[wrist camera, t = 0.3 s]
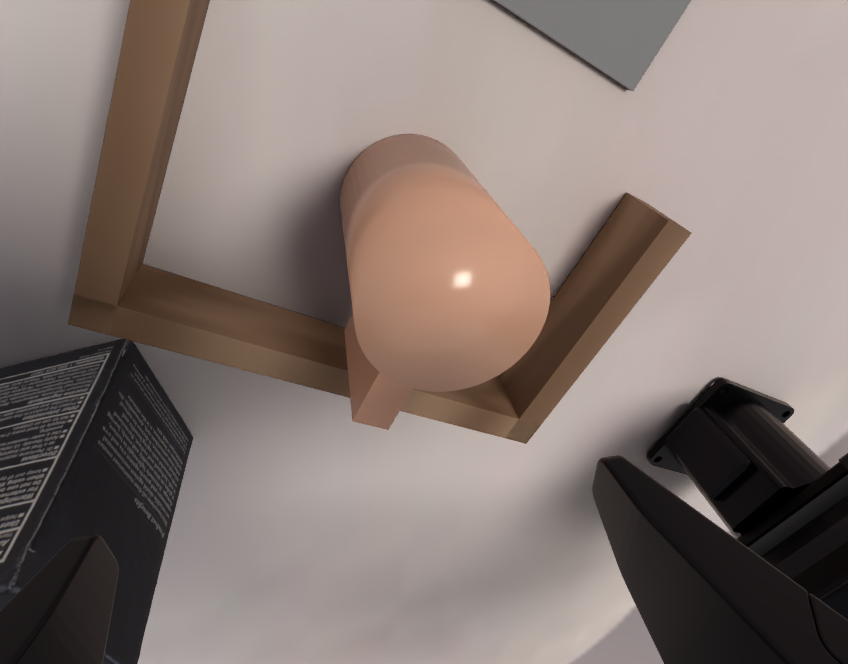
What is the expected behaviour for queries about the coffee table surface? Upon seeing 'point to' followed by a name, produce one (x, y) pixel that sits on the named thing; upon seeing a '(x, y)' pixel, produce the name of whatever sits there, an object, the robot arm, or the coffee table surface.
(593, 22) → the mat
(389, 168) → the popsicle on stick
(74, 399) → the small box
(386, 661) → the coffee table surface
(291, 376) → the holder
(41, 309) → the coffee table surface
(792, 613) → the robot arm
